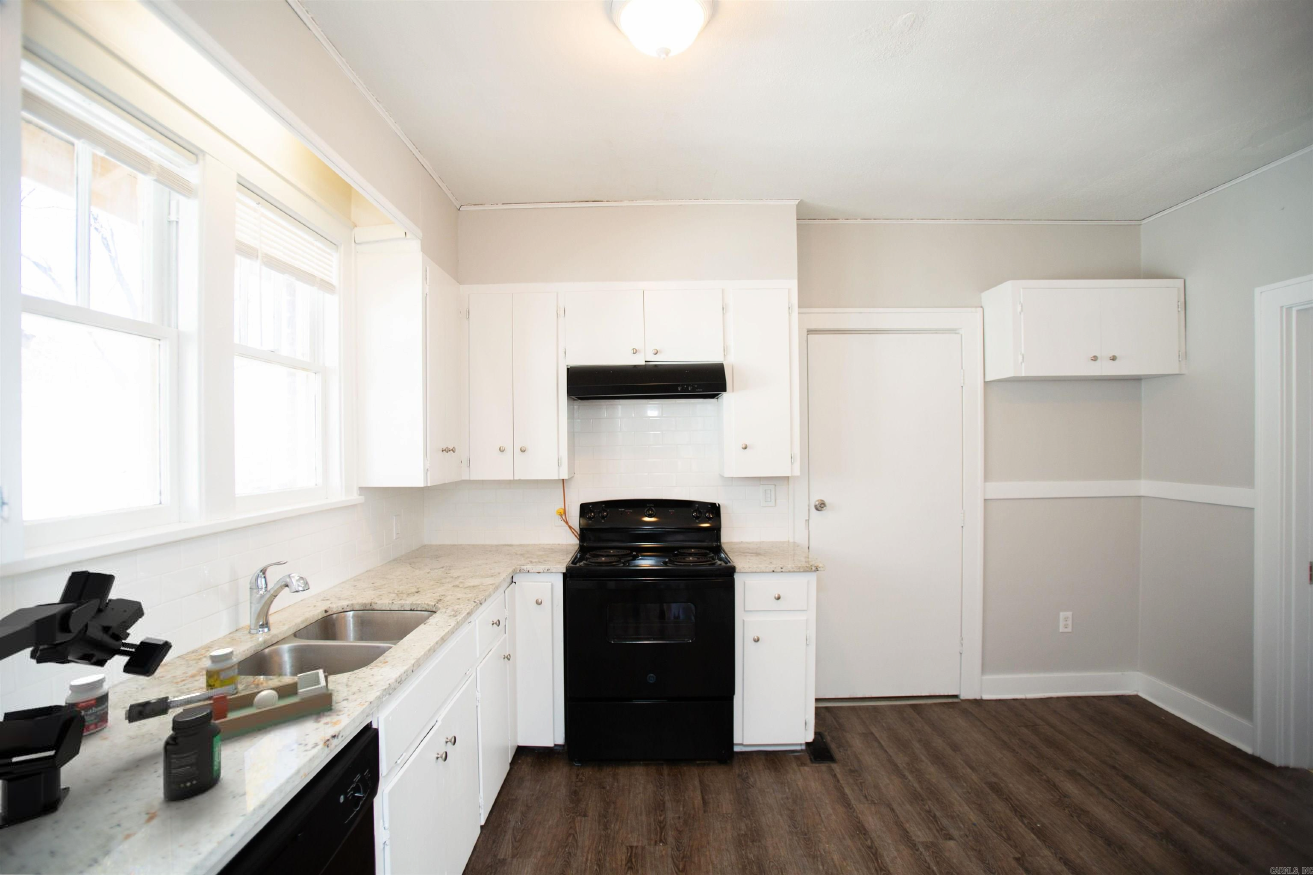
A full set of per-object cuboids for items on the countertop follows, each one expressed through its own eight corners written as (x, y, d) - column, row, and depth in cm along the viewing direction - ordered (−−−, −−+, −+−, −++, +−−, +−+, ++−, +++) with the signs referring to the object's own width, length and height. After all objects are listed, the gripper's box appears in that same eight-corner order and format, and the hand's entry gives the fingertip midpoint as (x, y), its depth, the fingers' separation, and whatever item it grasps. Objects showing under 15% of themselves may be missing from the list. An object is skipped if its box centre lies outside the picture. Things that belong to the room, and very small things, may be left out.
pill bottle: (78, 739, 95) (78, 687, 96) (56, 737, 97) (56, 685, 97) (116, 723, 101) (116, 673, 101) (94, 721, 102) (95, 671, 102)
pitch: (332, 709, 105) (332, 692, 105) (173, 753, 90) (173, 733, 90) (327, 688, 114) (327, 672, 114) (183, 725, 100) (183, 707, 100)
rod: (233, 719, 98) (233, 684, 99) (123, 748, 89) (123, 710, 89) (234, 711, 102) (234, 677, 102) (128, 738, 93) (128, 701, 93)
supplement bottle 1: (231, 777, 83) (231, 704, 83) (183, 806, 77) (182, 726, 77) (201, 771, 85) (201, 699, 85) (151, 798, 78) (152, 721, 79)
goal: (326, 704, 105) (326, 684, 105) (299, 711, 102) (299, 691, 102) (322, 686, 113) (322, 668, 113) (297, 693, 110) (297, 674, 110)
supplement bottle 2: (241, 692, 113) (241, 649, 114) (212, 702, 109) (211, 658, 109) (231, 686, 116) (231, 645, 116) (201, 697, 111) (201, 653, 112)
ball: (278, 711, 103) (278, 691, 103) (253, 717, 100) (252, 697, 100) (278, 703, 106) (278, 684, 106) (253, 709, 103) (253, 690, 103)
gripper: (173, 604, 93) (205, 627, 105) (55, 584, 90) (103, 610, 102) (129, 668, 87) (169, 685, 99) (0, 648, 83) (58, 668, 95)
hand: (126, 660), depth 99 cm, fingers open, 9 cm apart
